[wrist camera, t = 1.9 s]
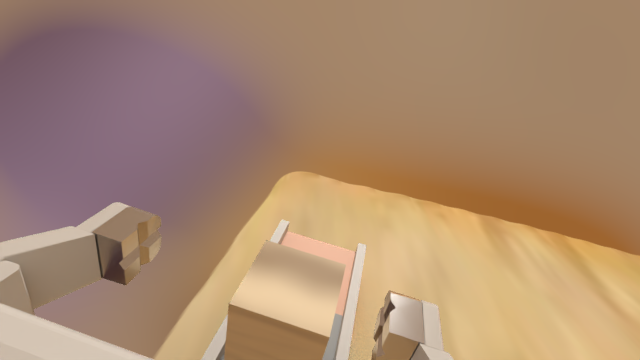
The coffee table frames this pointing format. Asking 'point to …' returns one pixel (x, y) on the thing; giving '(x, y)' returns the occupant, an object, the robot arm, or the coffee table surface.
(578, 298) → the coffee table surface
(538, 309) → the coffee table surface
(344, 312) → the lane
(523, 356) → the coffee table surface
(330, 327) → the block
